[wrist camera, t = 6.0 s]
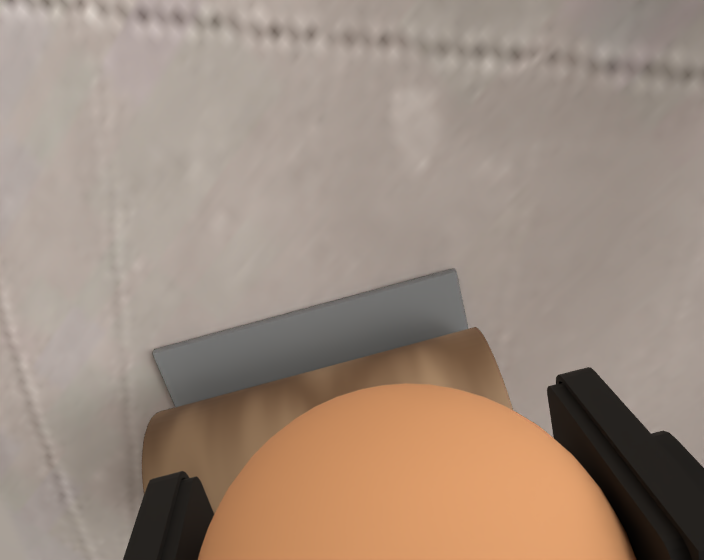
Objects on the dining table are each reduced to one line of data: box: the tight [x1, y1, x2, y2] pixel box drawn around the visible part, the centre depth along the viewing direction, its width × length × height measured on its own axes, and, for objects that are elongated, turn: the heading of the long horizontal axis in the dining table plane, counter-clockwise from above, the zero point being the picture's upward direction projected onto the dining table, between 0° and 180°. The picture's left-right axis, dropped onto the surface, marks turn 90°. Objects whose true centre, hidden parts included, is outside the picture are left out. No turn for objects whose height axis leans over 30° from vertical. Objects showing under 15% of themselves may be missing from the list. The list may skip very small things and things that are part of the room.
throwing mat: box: [153, 269, 468, 407], centre depth 34 cm, size 14×29×1 cm, turn 15°
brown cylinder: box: [142, 327, 513, 514], centre depth 27 cm, size 14×7×7 cm, turn 105°
